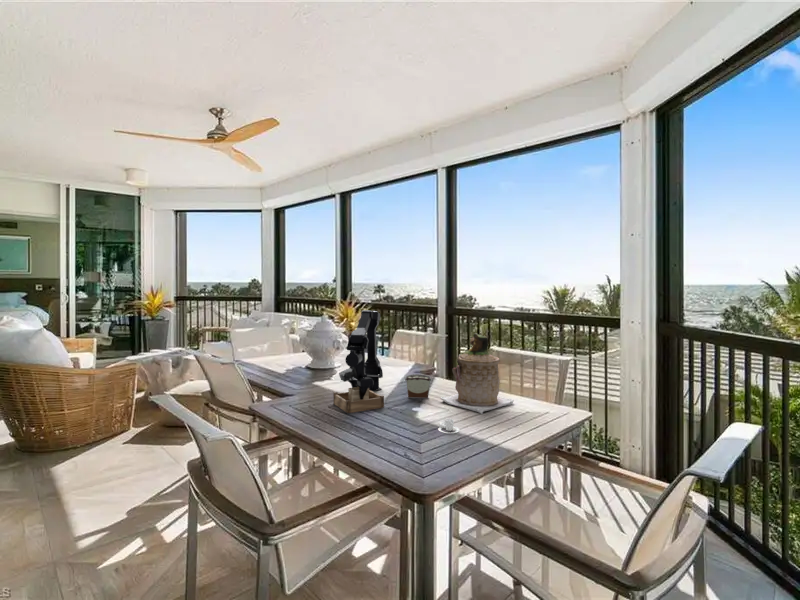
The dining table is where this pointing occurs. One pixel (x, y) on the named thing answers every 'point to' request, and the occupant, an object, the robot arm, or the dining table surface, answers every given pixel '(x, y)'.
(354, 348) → the robot arm
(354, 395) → the pale crate
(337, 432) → the dining table surface
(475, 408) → the cookie jar
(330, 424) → the dining table surface
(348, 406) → the crate
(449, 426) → the teacup and saucer
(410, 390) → the food container
